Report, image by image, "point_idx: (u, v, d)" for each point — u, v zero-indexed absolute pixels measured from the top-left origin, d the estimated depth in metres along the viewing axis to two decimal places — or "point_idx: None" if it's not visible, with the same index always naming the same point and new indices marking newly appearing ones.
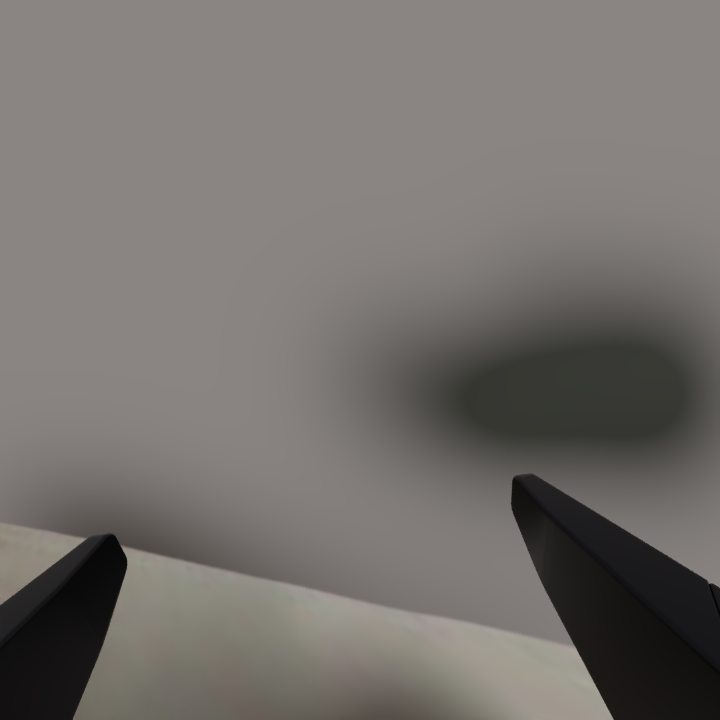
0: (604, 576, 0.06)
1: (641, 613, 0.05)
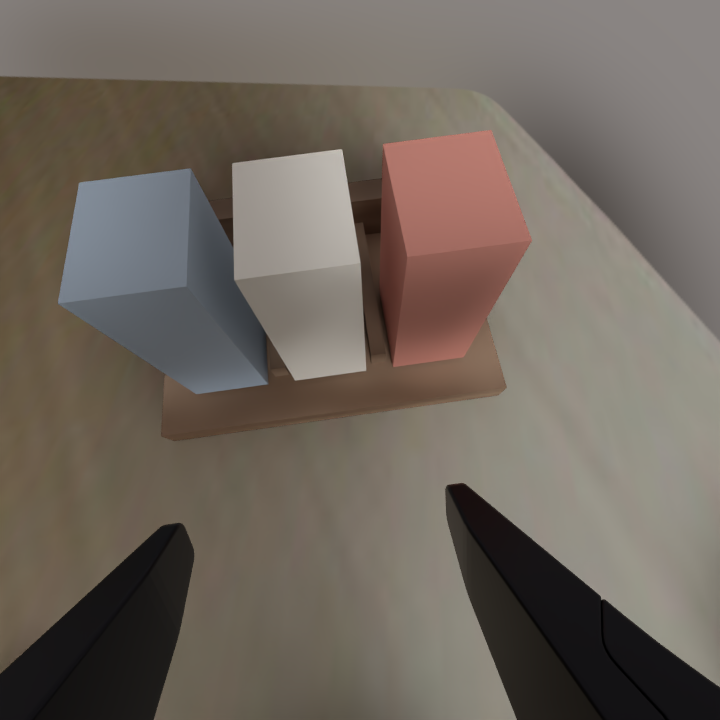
0: (506, 590, 0.06)
1: (532, 629, 0.05)
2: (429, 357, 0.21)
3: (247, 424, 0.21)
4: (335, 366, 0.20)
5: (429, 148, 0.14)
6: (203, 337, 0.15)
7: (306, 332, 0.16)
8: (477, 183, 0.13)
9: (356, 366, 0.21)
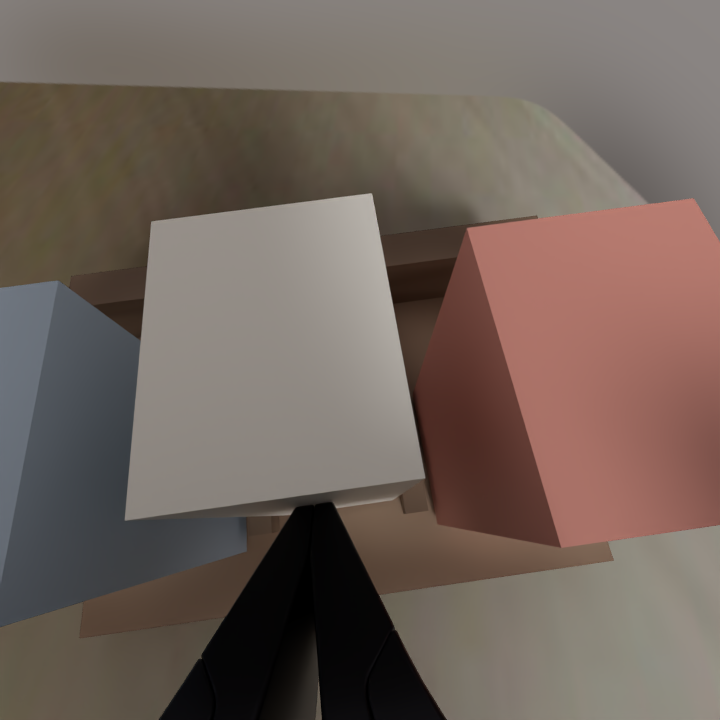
0: None
1: None
2: None
3: (213, 617, 0.14)
4: (347, 505, 0.13)
5: (569, 239, 0.06)
6: None
7: None
8: (693, 330, 0.06)
9: (378, 501, 0.14)
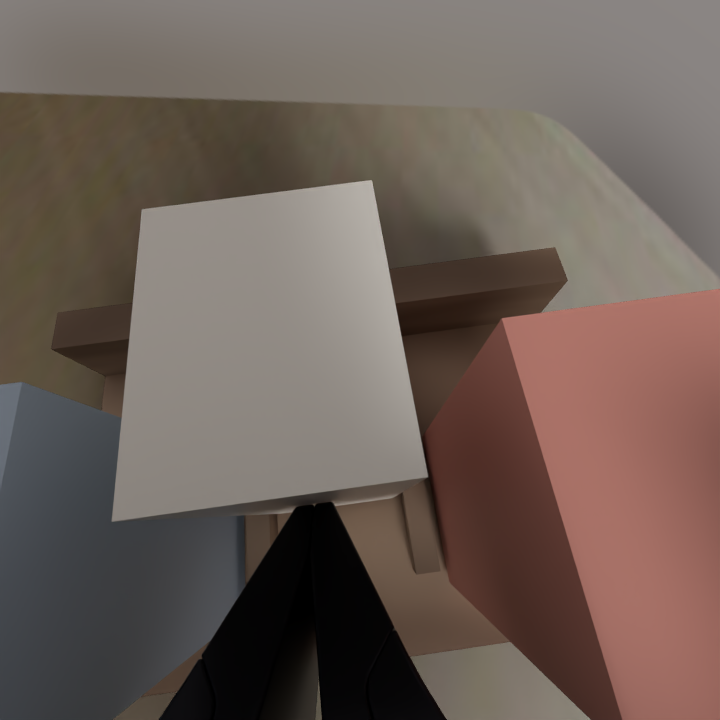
0: None
1: None
2: None
3: None
4: None
5: (623, 334, 0.05)
6: None
7: None
8: None
9: (378, 499, 0.13)
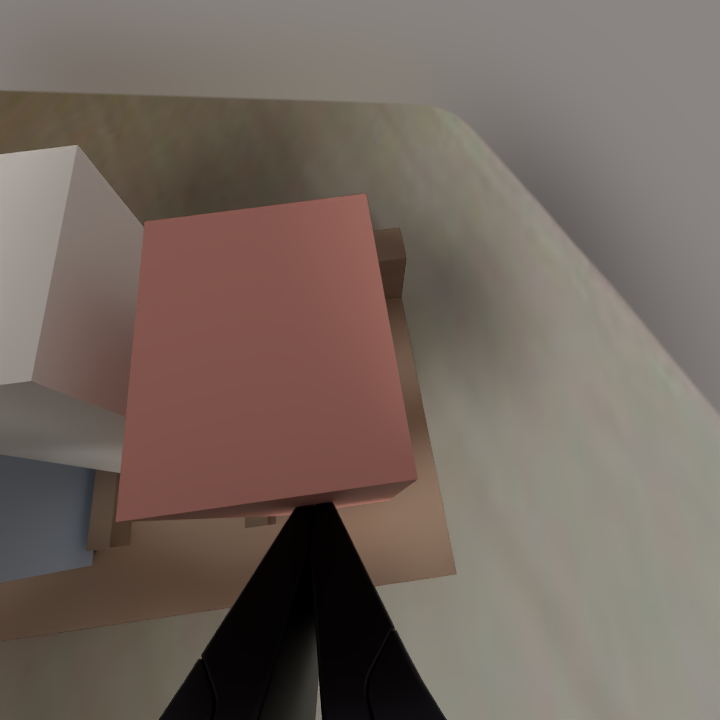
0: None
1: None
2: None
3: (54, 632, 0.14)
4: None
5: (235, 232, 0.07)
6: None
7: (75, 447, 0.10)
8: (317, 318, 0.06)
9: None
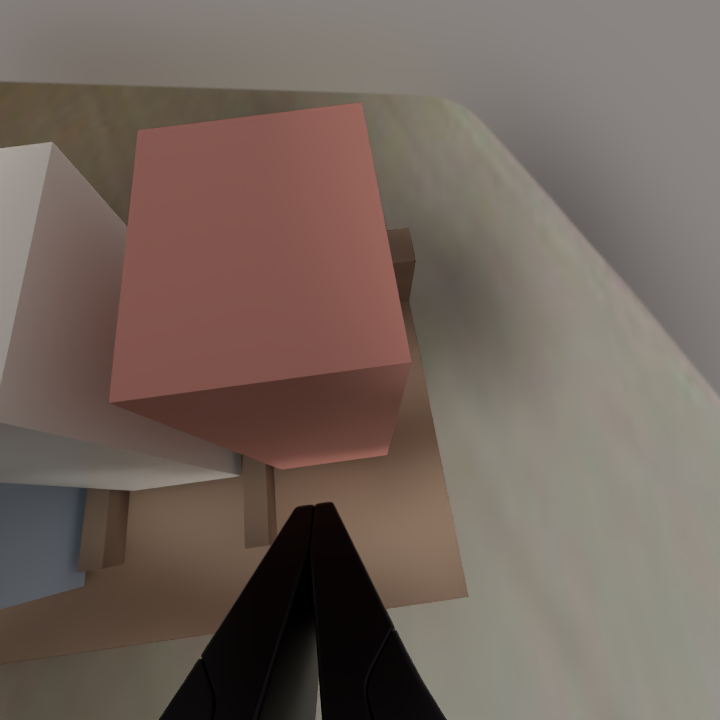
0: None
1: None
2: (331, 460, 0.14)
3: (45, 656, 0.13)
4: (181, 479, 0.13)
5: (229, 139, 0.07)
6: None
7: (60, 472, 0.09)
8: (311, 216, 0.06)
9: (218, 476, 0.14)
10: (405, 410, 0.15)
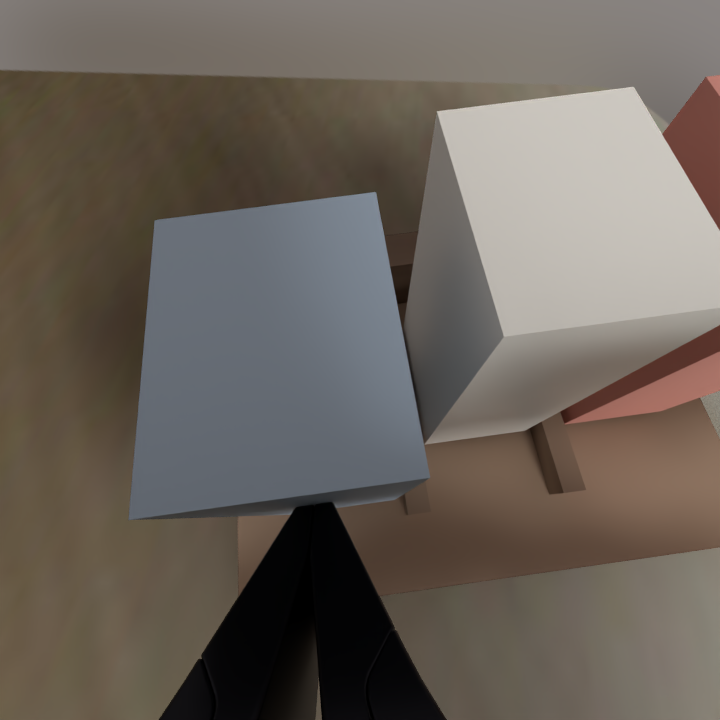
0: None
1: None
2: (621, 413, 0.15)
3: None
4: (493, 429, 0.14)
5: None
6: (365, 497, 0.08)
7: (512, 399, 0.10)
8: None
9: (518, 428, 0.14)
10: None
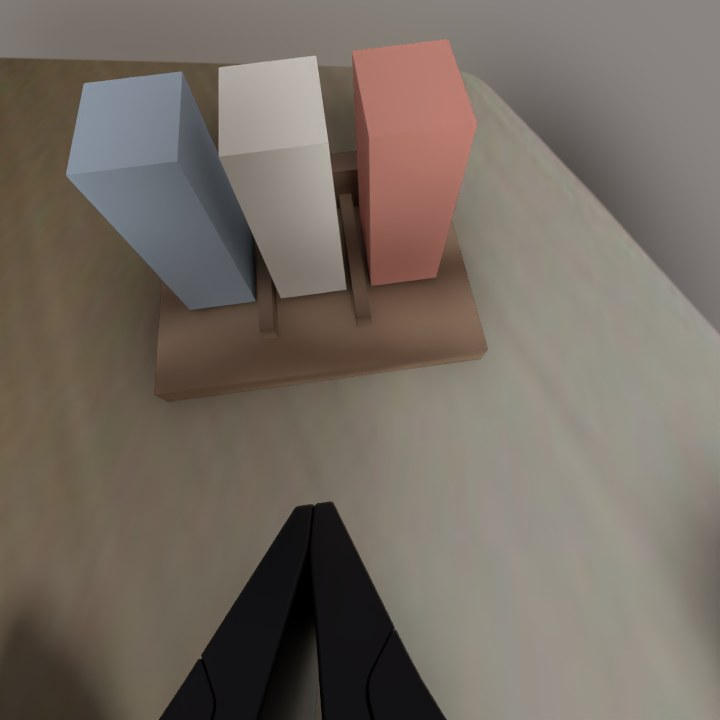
0: None
1: None
2: (403, 275, 0.23)
3: (237, 383, 0.22)
4: (317, 281, 0.22)
5: (393, 53, 0.16)
6: (194, 231, 0.17)
7: (287, 231, 0.18)
8: (433, 80, 0.15)
9: (336, 283, 0.22)
10: (445, 255, 0.24)
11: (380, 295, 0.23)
